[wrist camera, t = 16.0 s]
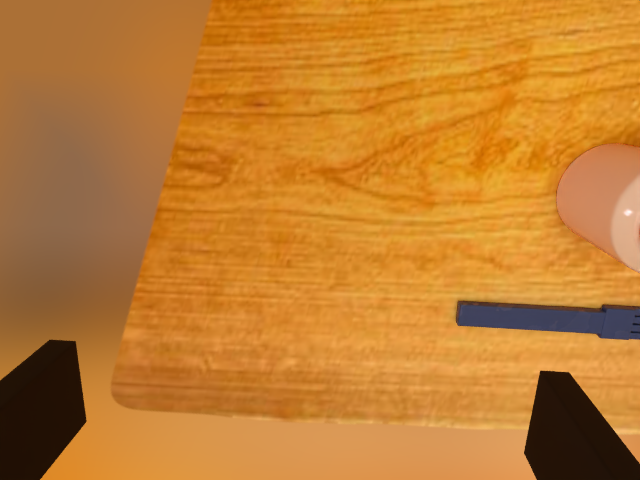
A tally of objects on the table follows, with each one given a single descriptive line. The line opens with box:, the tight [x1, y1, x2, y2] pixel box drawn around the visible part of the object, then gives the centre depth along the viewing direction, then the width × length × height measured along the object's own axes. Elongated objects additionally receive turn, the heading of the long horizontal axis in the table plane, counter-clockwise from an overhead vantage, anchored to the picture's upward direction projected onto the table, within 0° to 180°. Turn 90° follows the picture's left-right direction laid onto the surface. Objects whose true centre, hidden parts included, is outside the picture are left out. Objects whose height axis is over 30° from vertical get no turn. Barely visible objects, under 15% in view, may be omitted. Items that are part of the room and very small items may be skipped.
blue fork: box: [456, 301, 640, 340], centre depth 40 cm, size 21×3×1 cm, turn 88°
